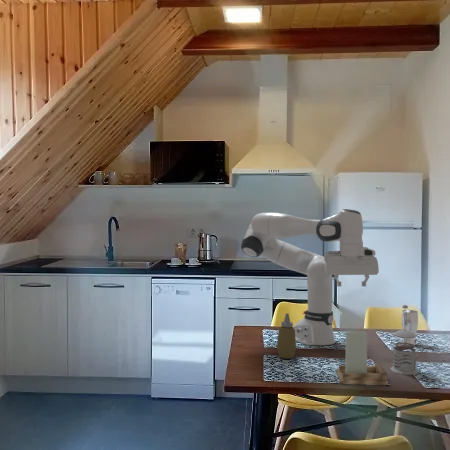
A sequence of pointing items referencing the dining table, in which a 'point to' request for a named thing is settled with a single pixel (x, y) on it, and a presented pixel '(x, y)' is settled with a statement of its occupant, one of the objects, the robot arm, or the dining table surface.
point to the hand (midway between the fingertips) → (351, 286)
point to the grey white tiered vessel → (405, 353)
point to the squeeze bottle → (286, 339)
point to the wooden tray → (364, 376)
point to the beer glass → (410, 324)
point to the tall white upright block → (356, 352)
